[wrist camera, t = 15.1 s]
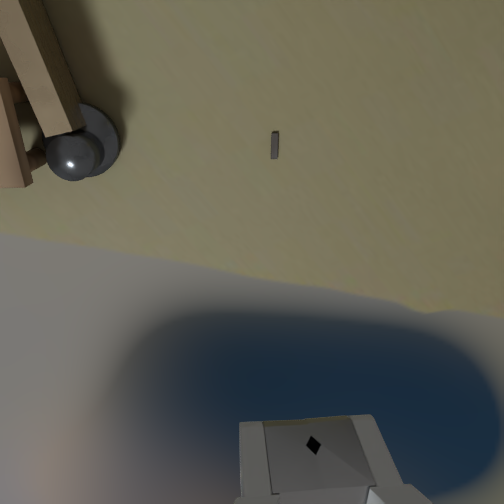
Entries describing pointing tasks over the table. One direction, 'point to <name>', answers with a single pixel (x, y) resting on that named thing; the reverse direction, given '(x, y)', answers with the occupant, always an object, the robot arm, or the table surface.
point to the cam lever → (56, 95)
